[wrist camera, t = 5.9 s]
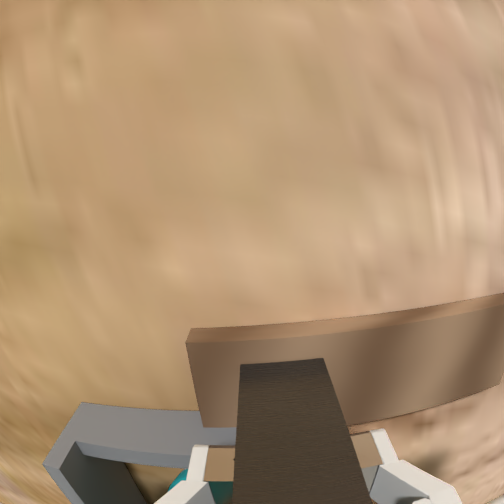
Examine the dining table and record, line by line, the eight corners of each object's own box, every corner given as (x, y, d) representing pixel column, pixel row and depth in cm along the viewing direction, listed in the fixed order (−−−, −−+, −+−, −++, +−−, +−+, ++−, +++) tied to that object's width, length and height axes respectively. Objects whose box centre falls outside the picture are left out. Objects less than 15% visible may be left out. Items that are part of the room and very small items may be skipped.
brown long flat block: (509, 291, 13) (523, 299, 12) (488, 373, 14) (499, 384, 13) (191, 328, 13) (185, 342, 12) (208, 419, 14) (205, 435, 13)
